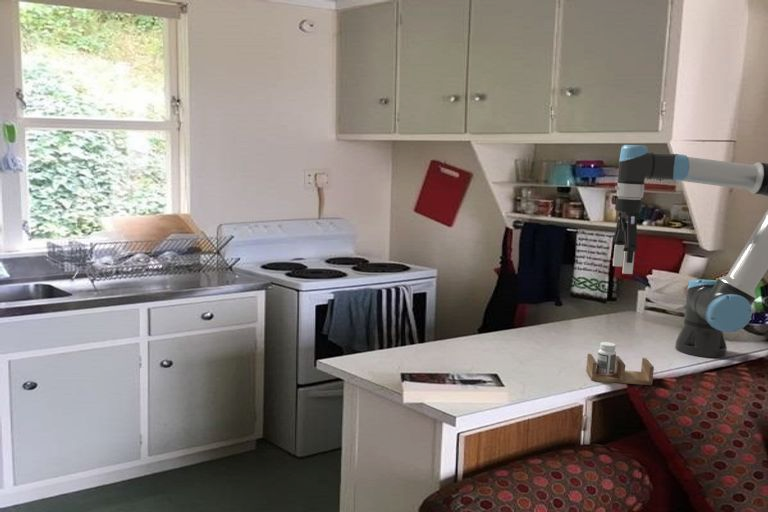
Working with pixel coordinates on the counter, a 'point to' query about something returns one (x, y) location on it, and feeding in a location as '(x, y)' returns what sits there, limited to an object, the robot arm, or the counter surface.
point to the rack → (621, 372)
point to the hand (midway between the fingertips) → (622, 269)
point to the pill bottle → (606, 359)
